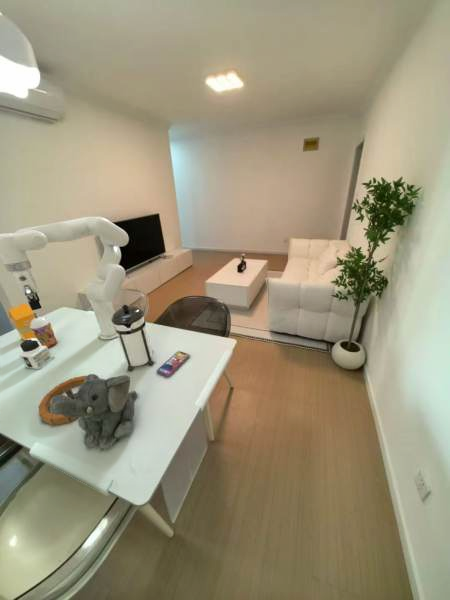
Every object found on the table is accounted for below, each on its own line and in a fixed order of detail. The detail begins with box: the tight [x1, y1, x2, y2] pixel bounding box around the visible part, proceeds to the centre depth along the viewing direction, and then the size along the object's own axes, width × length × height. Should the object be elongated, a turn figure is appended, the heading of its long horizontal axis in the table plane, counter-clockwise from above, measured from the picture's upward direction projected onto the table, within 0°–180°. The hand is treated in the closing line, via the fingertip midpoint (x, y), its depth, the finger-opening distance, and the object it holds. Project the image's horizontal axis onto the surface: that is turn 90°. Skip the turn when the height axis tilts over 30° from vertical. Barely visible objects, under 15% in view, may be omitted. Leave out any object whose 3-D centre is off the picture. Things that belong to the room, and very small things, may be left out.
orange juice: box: [7, 302, 37, 341], centre depth 128 cm, size 8×9×20 cm
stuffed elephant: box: [49, 373, 138, 450], centre depth 72 cm, size 19×21×27 cm
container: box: [18, 338, 54, 370], centre depth 108 cm, size 8×8×13 cm
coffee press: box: [111, 304, 155, 372], centre depth 102 cm, size 17×16×30 cm
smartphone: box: [157, 350, 190, 377], centre depth 104 cm, size 1×7×15 cm
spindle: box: [64, 388, 77, 399], centre depth 88 cm, size 4×4×6 cm
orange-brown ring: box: [38, 375, 87, 426], centre depth 88 cm, size 20×20×3 cm
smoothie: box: [30, 312, 58, 349], centre depth 119 cm, size 8×8×20 cm
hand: (36, 305), depth 96 cm, fingers open, 9 cm apart
